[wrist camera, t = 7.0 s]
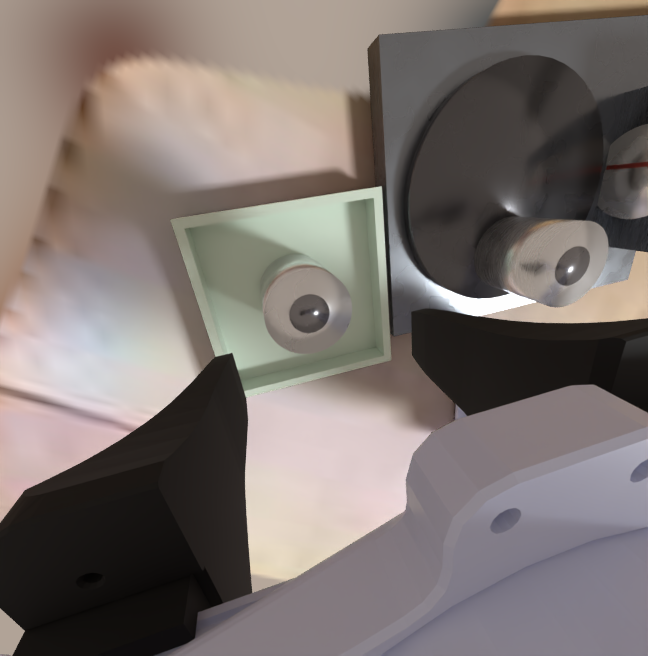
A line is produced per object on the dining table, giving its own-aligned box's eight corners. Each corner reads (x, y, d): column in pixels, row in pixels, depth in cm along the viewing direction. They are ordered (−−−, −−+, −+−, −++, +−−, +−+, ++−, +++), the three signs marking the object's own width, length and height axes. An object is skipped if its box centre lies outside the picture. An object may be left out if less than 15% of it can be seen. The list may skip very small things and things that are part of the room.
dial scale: (607, 275, 26) (704, 295, 20) (384, 328, 22) (429, 368, 17) (670, 24, 19) (840, -46, 14) (367, 49, 16) (431, -31, 10)
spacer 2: (528, 279, 21) (598, 298, 17) (471, 292, 20) (530, 315, 16) (538, 211, 19) (619, 213, 15) (476, 222, 18) (543, 229, 14)
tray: (379, 347, 23) (391, 360, 21) (231, 384, 21) (230, 401, 19) (368, 187, 18) (381, 186, 17) (177, 217, 17) (169, 219, 15)
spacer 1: (330, 318, 20) (351, 348, 16) (263, 326, 19) (268, 359, 15) (329, 251, 19) (353, 266, 15) (255, 256, 18) (259, 273, 14)
